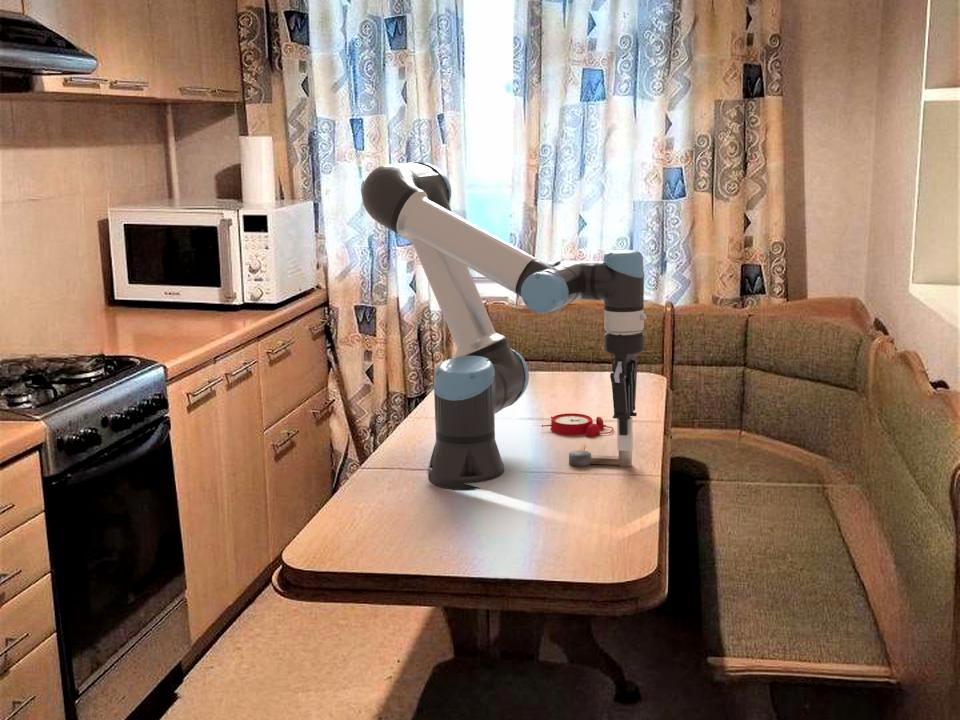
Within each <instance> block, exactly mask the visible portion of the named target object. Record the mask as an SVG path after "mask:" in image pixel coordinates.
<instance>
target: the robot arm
mask: <svg viewBox="0 0 960 720" xmlns="http://www.w3.org/2000/svg"><path fill="white" fill-rule="evenodd" d="M361 189H362V190H361V198H362V204H363V207H364V209H365V211H366V212H367V214H368V215H369V216H370V218H372V219H373V220H374V221H376V223H378V224H380V225H381V226H383V227H384V228H387V229H388V230H390V231H391V232H393V233H396V234H397V235H399V236H401V238H402V239H406V240H409V241H410V242H411V243H412V245H413V248H414V250H415V252H416V255H417V257H418V260H419V262H420V264H421V266H422V268H423V272H424V274H425V276H426V277H427V278H426V279H427V281H428V283H429V285H430V288H431V290H432V292H433V295H434V297H435V299H436V302H437V304H438V306H439V309H440V311H441V313H442V316H443V318H444V321H445V322H446V326H447V327H448V330H449V332H450V335H451V337H452V339H453V341H454V345H455V346H456V351H455V354H454V357H452V358H449V359H446V360H444V361H442V362H441V363H439V364H438V365H437V366H436V368H435V370H434V372H433V375H434V376H433V377H434V378H433V379H434V380H433V383H432V385H433V387H432V388H433V395H434V397H433V399H434V417H435V418H434V423H435V424H434V425H435V443H434V446H433V449H432V452H431V456H430V461H429V464H428V466H427V478H428V481H429V482H430V483H431V484H433V485H435V486H437V487H440V488H444V489H450V490H459V491H460V490H476V489H480V487H478V486H475V485H471V484H477V483H484V482H488V481H491V480H494V479H497V478H499V477H500V476H502V475H503V474H504V473H505V464H504V462H503V460H502V457H501V453H500V449H499V447H498V444H497V441H496V432H495V431H496V430H495V428H496V426H495V425H496V424H495V422H496V421H495V419H496V418H495V417H496V415H495V414H497V413H499V412H501V411H502V410H503V409H505V408H507V407H510V406H512V405H514V404H516V402H517V401H518V400H519V399H520V398H521V397H522V396H523V395H524V393H525V391H526V390H527V387H528V385H529V379H530V373H529V367H528V364H527V361H525V358H524V357H523V356H522V354H520V353H519V352H517V351H516V350H514V349H513V348H511V347H510V344H509V342H508V340H507V337H506V336H505V335H503V334H500V333H498V332H496V330H495V327H494V325H493V323H492V321H491V319H490V316H489V314H488V311H487V309H486V306H485V304H484V302H483V300H482V298H481V295H480V293H479V290H478V288H477V286H476V284H475V280H474V278H473V276H472V274H471V271H470V269H471V270H472V271H475V272H477V273H478V274H480V275H482V276H483V277H485V278H487V279H489V280H491V281H493V282H495V283H496V284H497V285H499V286H502V287H504V288H505V289H506V290H509V291H510V292H513V294H515V295H518V296H520V297H521V299H522V301H523V304H524V305H525V306H526V307H527V308H528V309H529V310H530V311H532V312H533V313H538V314H545V313H552V312H555V311H559V309H561V308H563V307H564V306H566V305H569V304H572V303H573V302H575V301H579V300H580V301H581V300H583V301H584V300H585V301H603V303H604V305H603V307H604V309H603V312H604V313H603V314H604V320H603V321H604V324H603V327H604V330H605V331H606V332H605V333H604V350H605V352H606V353H608V354H612V355H614V360H613V361H612V365H611V369H612V372H610V375H609V377H610V382H611V389H612V401H613V402H612V403H613V416H612V419H616V420H617V421H616V423H617V424H616V425H617V427H616V428H617V432H616V433H617V434H616V435H617V441H616V442H617V451H619V450H621V451H632V452H633V449H634V448H633V443H634V442H633V437H634V436H633V435H634V434H633V433H634V431H633V421H634V420H633V417H637V414H638V412H634V411H636V397H637V375H638V367H639V361H638V360H636V359H635V358H636V357H635V355H636V354H641V353H642V352H643V351H644V350H645V334H644V332H643V329H644V328H645V327H644V326H645V320H647V319H648V316H647V314H644V312H645V311H644V310H645V309H644V308H645V306H644V300H645V295H644V294H645V272H644V271H645V270H644V257H643V254H642V253H641V252H640V250H639V251H638V250H635V249H634V250H633V249H622V250H621V249H619V250H618V249H616V250H615V249H613V250H608V251H605V252H604V254H603V259H602V260H595V261H591V260H589V261H588V260H568V259H561V260H550V261H548V262H547V263H546V262H543V261H541V260H539V259H538V258H536V257H535V256H533V255H531V254H529V253H527V252H526V251H523V250H522V249H520V248H518V247H517V246H514V245H512V244H511V243H509V242H507V241H505V240H503V239H501V238H500V237H498V236H497V235H495V234H492V233H490V232H489V231H488V230H485V229H483V228H481V227H480V226H477V225H476V224H473V222H470V221H468V220H466V219H464V218H463V217H461V216H459V215H457V214H456V213H454V212H453V211H452V209H451V206H450V203H451V198H452V188H451V184H450V181H449V178H448V177H447V176H446V174H445V173H444V172H443V171H442V170H441V169H440V168H439V167H437V166H436V165H433V164H431V163H427V162H422V161H409V162H406V163H391V164H384V165H381V166H378V167H377V168H374V170H372V171H371V172H370V173H369V174H368V175H367V177H366V178H365V180H364V182H363V185H362V187H361Z"/></svg>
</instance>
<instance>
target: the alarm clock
mask: <svg viewBox="0 0 960 720" xmlns="http://www.w3.org/2000/svg"><path fill="white" fill-rule="evenodd" d="M595 419H596V420H595V423H594V422H593V417H591V416H590V415H587V414H582V413H574V412H572V413H561V414H555V415H554V416H551V417H550V422H551V423H550V424H541V427H542V428H544V427H550V429H549V430H550V431H551V432H552V433H553V434H557V435H561V436H562V435H564V436H582V435H585V437H586V438H594V437H596V436H598V435H600V434H602V435H603V434H605V435H606V434H611V433H612V432H613V431H614V427H612V426H607V424H604V421H603V418H602V417H601V416H596V418H595ZM604 428H607V429H611V430H609V431H606V432H601V431H604Z"/></svg>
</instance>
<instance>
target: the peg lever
mask: <svg viewBox="0 0 960 720" xmlns="http://www.w3.org/2000/svg"><path fill="white" fill-rule="evenodd" d="M586 445H587V444H586V443H581V444H580V448H579V450H572V451H570V452H568V464H569V465H570V466H572V467H577V468H582V467H583V468H584V467H588V466H591V465H592V464H593V465H594V464H595V465H612V466H613V465H614V466H619V467H621V468H630V467H632V466H633V463H632V462H633V450H632V451H621V450H618V455H600V454H599V455H598V454H597V455H596V454H592V453H591V452H590V451H587V450H586Z"/></svg>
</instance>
